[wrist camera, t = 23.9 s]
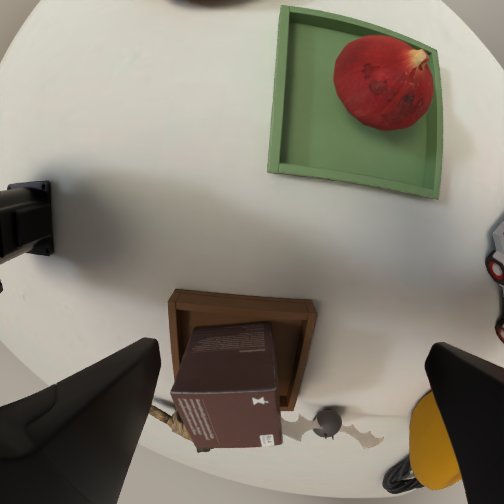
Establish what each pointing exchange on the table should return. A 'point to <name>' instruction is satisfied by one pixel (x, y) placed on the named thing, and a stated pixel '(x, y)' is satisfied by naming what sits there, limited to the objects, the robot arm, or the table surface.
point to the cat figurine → (174, 424)
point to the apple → (431, 447)
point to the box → (230, 387)
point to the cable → (397, 474)
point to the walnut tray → (243, 312)
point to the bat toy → (326, 428)
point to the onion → (383, 82)
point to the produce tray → (344, 113)
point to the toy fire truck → (498, 268)
